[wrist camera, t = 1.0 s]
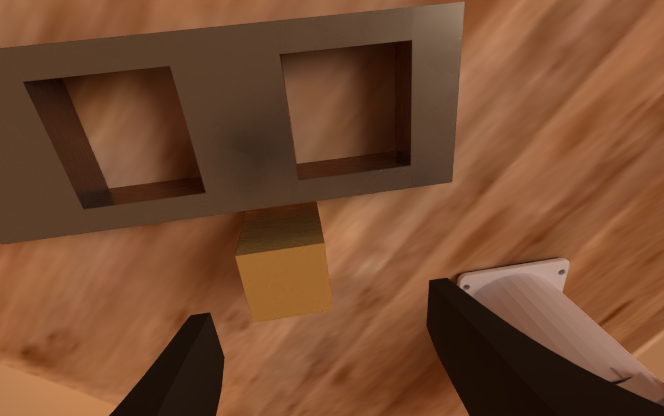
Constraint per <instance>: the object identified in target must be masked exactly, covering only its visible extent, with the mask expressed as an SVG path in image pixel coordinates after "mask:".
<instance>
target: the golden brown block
mask: <svg viewBox="0 0 664 416" xmlns="http://www.w3.org/2000/svg"><path fill="white" fill-rule="evenodd" d="M235 258H236V261H237V265H238V269H239V272H240V276H241V280H242V284H243V287H244V291H245V295H246V298H247V302H248V306H249V310H250V313H251V317H252V321H253V323H255V322H262V321H268V320H274V319H280V318H286V317H293V316H299V315H305V314H311V313H317V312H323V311H330V310H333V308H332V299H331V291H330V283H329V275H328V267H327V259H326V251H325V243H324V238H323V233H322V227H321V222H320V217H319V212H318V207H317V202H316V201H312V202H305V203H298V204H291V205H284V206H276V207H269V208H262V209H255V210H248V211H246V212H245V216H244V221H243V225H242V229H241V233H240V238H239V242H238V246H237V250H236V255H235Z"/></svg>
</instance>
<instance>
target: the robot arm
mask: <svg viewBox="0 0 664 416" xmlns="http://www.w3.org/2000/svg"><path fill="white" fill-rule="evenodd" d="M569 264H570V263H569V261H568V260H566V259H565V258H556V259H550V260H544V261H538V262H531V263H525V264H519V265H512V266H506V267H500V268H493V269H487V270H481V271H474V272H468V273H463V274H461V275H460V276H459V277H458V280H457V285H456V284H455V283H453V282H452V281H451V280H449V279H448V278H442V279H435V280H429V294H428V310H427V328H428V331H429V334H430V336H431V339H432V342H433V344H434V347H435V349H436V352H437V354H438V356H439V358H440V360H441V362H442V364H443V366H444V368H445V370H446V372H447V374H448V376H449V378H450V380H451V381H452V383H453V385H454V387H455V389H456V391H457V393H458V395H459V397H460V398H461V400H462V402H463V404H464V406H465V408H466V410H467V412H468V414H469V416H664V383H663V382H661V381H660V380H659V379H658V378H657V377H655V376H654V375H653V374H652V373H651V372H650V371H649V370H648V369H647V368H645V367H644V366H643V365H642V364H641V363H640V362H639V361H638V360H637V359H635V358H634V357H633V356H632V355H631V354H630V353H629V352H628V351H627V350H625V349H624V348H623V347H622V346H621V345H620V344H619V343H618V342H617V341H615V340H614V339H613V338H612V337H611V336H610V335H609V334H608V333H607V332H605V331H604V330H603V329H602V328H601V327H600V326H599V325H598V324H597V323H595V322H594V321H593V320H592V319H591V318H590V317H589V316H588V315H587V314H585V313H584V312H583V311H582V310H581V309H580V308H579V307H578V306H577V305H575V304H574V303H573V302H572V301H571V300H570V299H569V298H568V297H567V296H565V295H564V294H563V293H562V291H563V287H564V283H565V280H566V276H567V272H568V269H569ZM465 285H466V286H465ZM463 286H465V287H463ZM223 369H224V354H223V351H222V348H221V345H220V342H219V339H218V335H217V332H216V329H215V326H214V323H213V320H212V317H211V313H203V314H197V315H191V316H190V317H189V318H188V319H187V321H186V322H185V323H184V324H183V326H182V327H181V328H180V330H179V331H178V332H177V334H176V335H175V336H174V338H173V339H172V340H171V342H170V343H169V344H168V346H167V347H166V348H165V349H164V351H163V352H162V353H161V355H160V356H159V357H158V358H157V360H156V361H155V362H154V363H153V365H152V366H151V367H150V368H149V370H148V371H147V372H146V374H145V375H144V376H143V377H142V378H141V380H140V381H139V382H138V383H137V384H136V386H135V387H134V388H133V389H132V390H131V391H130V393H129V394H128V395H127V396H126V397H125V398H124V400H123V401H122V402H121V403H120V404H119V405H118V406H117V408H116V409H115V410H114V411H113V412H112V413H111V414H110V415H109V416H216V413H217V408H218V404H219V399H220V394H221V388H222V379H223Z"/></svg>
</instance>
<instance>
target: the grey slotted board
mask: <svg viewBox="0 0 664 416" xmlns="http://www.w3.org/2000/svg"><path fill="white" fill-rule="evenodd" d="M464 6H465V2H458V3H448V4H438V5H428V6H418V7H408V8H398V9H388V10H378V11H368V12H358V13H348V14H338V15H328V16H318V17H308V18H298V19H288V20H278V21H268V22H258V23H248V24H239V25H229V26H219V27H209V28H199V29H189V30H179V31H169V32H159V33H149V34H139V35H129V36H119V37H109V38H99V39H89V40H79V41H69V42H59V43H49V44H39V45H29V46H19V47H9V48H0V243H1V245H2V244H10V243H17V242H24V241H31V240H38V239H46V238H53V237H60V236H67V235H74V234H82V233H89V232H96V231H103V230H110V229H118V228H125V227H132V226H139V225H147V224H154V223H161V222H168V221H175V220H183V219H190V218H197V217H204V216H211V215H219V214H226V213H233V212H240V211H248V210H255V209H262V208H269V207H276V206H284V205H291V204H298V203H305V202H312V201H320V200H327V199H334V198H341V197H348V196H356V195H363V194H370V193H377V192H385V191H392V190H399V189H406V188H413V187H421V186H428V185H435V184H442V183H449V182H452V176H453V162H454V148H455V133H456V119H457V105H458V91H459V77H460V63H461V48H462V34H463V20H464ZM389 42H395V91H396V151H394V152H387V153H379V154H371V155H364V156H356V157H348V158H341V159H333V160H325V161H318V162H310V163H302V164H297V163H296V156H295V149H294V142H293V136H292V129H291V122H290V115H289V109H288V102H287V95H286V88H285V82H284V75H283V68H282V61H281V54H286V53H295V52H305V51H314V50H323V49H333V48H342V47H351V46H361V45H370V44H379V43H389ZM165 66H170V69H171V72H172V76H173V79H174V83H175V86H176V90H177V93H178V97H179V100H180V104H181V107H182V111H183V114H184V118H185V121H186V125H187V128H188V132H189V135H190V139H191V142H192V146H193V149H194V153H195V156H196V160H197V163H198V167H199V170H200V174H201V177H195V178H187V179H180V180H172V181H164V182H157V183H149V184H141V185H134V186H126V187H118V188H111V189H108V186H107V184H106V182H105V179H104V177H103V174H102V172H101V170H100V167H99V165H98V163H97V160H96V158H95V156H94V153H93V151H92V149H91V146H90V144H89V142H88V139H87V137H86V134H85V132H84V130H83V127H82V125H81V123H80V120H79V118H78V116H77V113H76V111H75V109H74V106H73V104H72V102H71V99H70V97H69V94H68V92H67V90H66V87H65V85H64V83H63V80H62V77H72V76H81V75H90V74H100V73H109V72H118V71H128V70H137V69H146V68H156V67H165Z"/></svg>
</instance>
